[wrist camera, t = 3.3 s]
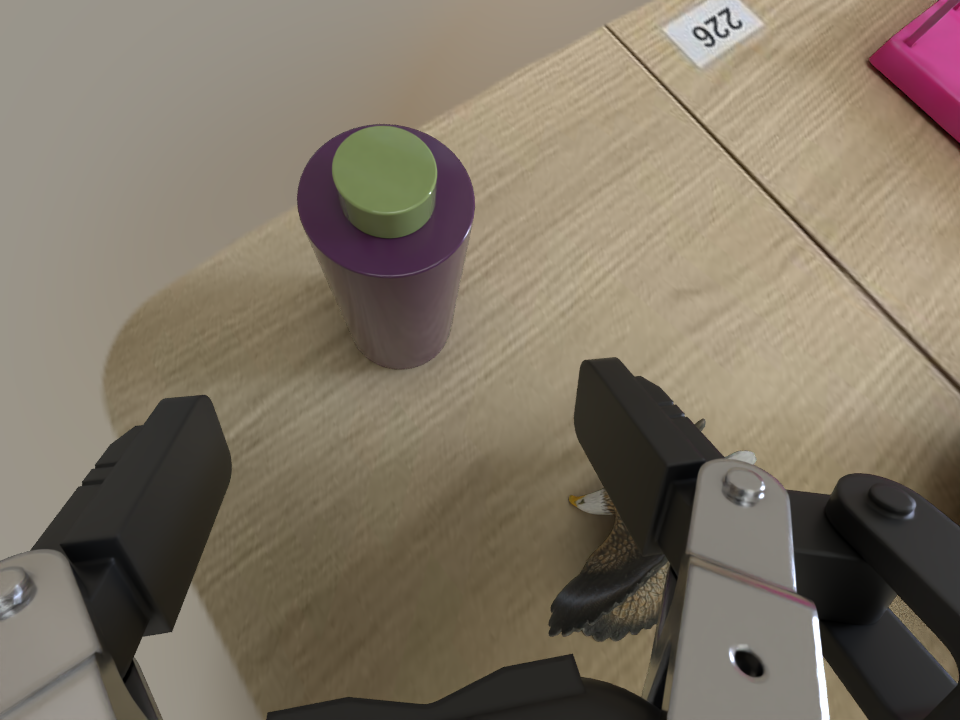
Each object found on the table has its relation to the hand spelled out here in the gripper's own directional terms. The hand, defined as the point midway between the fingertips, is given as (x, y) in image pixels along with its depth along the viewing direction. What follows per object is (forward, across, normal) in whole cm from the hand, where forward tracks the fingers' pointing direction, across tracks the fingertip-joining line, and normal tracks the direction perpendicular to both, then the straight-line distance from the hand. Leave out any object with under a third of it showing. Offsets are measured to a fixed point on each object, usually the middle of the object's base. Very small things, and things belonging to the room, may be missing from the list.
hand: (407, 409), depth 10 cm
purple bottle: (+12, 0, +3) cm, 12 cm away
